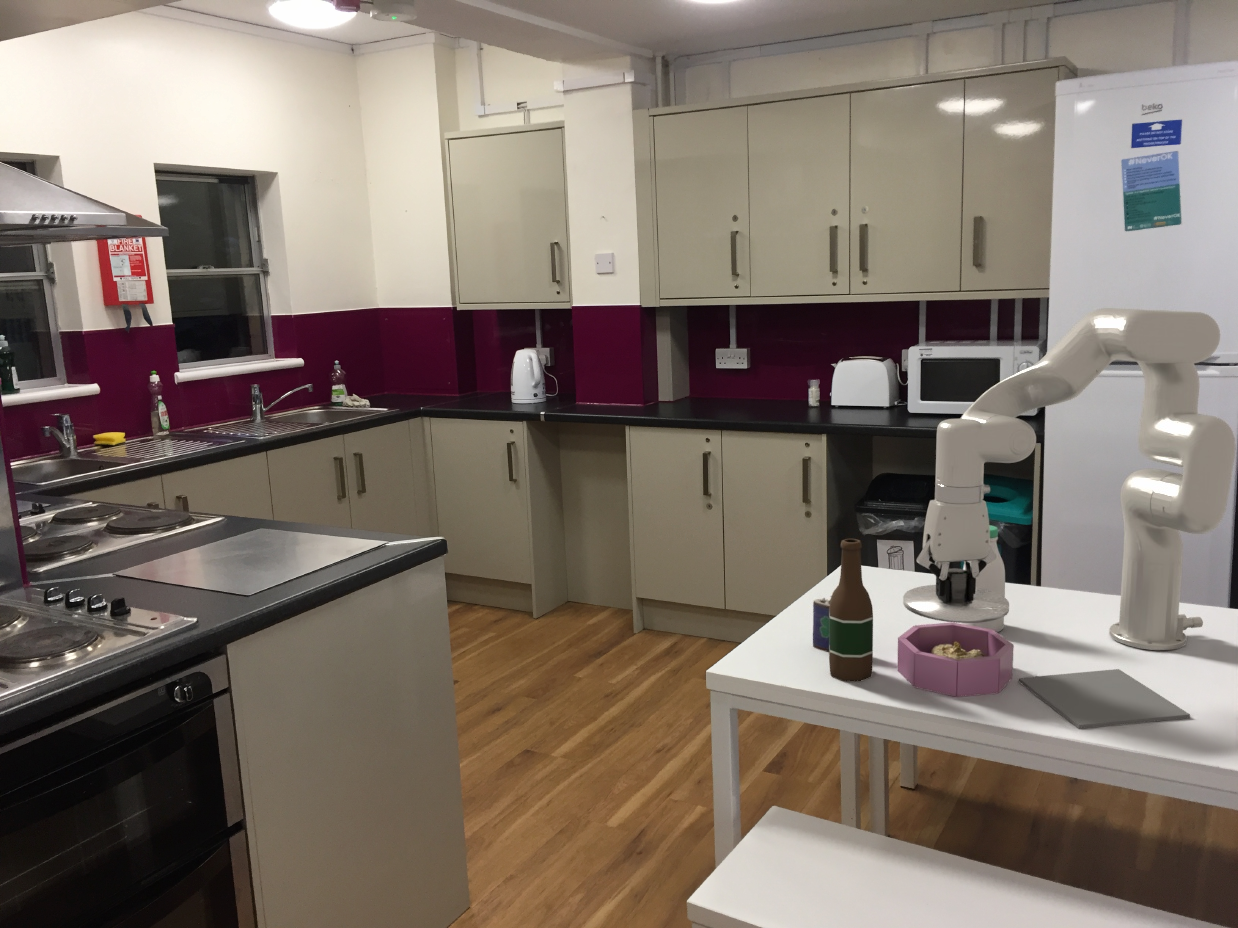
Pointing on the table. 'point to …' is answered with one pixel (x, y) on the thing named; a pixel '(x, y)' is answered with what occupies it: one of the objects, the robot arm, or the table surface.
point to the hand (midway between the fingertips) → (955, 598)
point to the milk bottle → (992, 581)
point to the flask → (821, 624)
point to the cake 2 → (955, 651)
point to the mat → (1102, 698)
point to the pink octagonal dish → (950, 672)
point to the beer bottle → (851, 620)
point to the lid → (956, 602)
